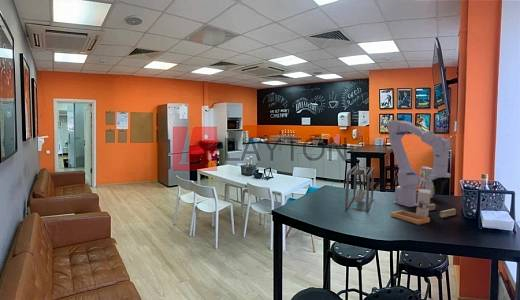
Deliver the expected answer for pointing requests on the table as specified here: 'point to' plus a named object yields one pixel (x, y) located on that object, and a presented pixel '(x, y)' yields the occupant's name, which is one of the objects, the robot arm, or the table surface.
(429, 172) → the candy bar box
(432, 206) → the birch tunnel
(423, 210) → the ink box
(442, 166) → the robot arm
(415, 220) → the tan wooden flat tray
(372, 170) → the newton's cradle
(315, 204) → the table surface
